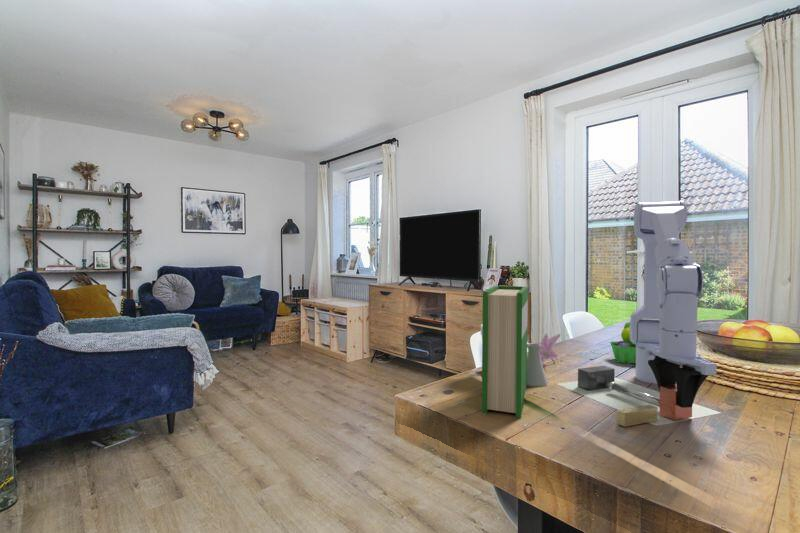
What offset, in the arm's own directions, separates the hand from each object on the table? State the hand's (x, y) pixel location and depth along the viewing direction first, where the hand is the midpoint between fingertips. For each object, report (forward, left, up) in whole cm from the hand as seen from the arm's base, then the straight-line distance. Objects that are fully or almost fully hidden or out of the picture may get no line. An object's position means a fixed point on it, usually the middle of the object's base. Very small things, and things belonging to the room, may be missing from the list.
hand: (676, 402), depth 75 cm
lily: (-2, -38, -4) cm, 39 cm away
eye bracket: (0, -18, -3) cm, 19 cm away
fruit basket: (-32, -35, -4) cm, 48 cm away
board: (-2, -11, -4) cm, 12 cm away
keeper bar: (+9, 0, -3) cm, 10 cm away
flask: (+11, -26, -4) cm, 29 cm away
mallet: (0, -7, -2) cm, 7 cm away
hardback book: (+23, -20, -4) cm, 31 cm away
